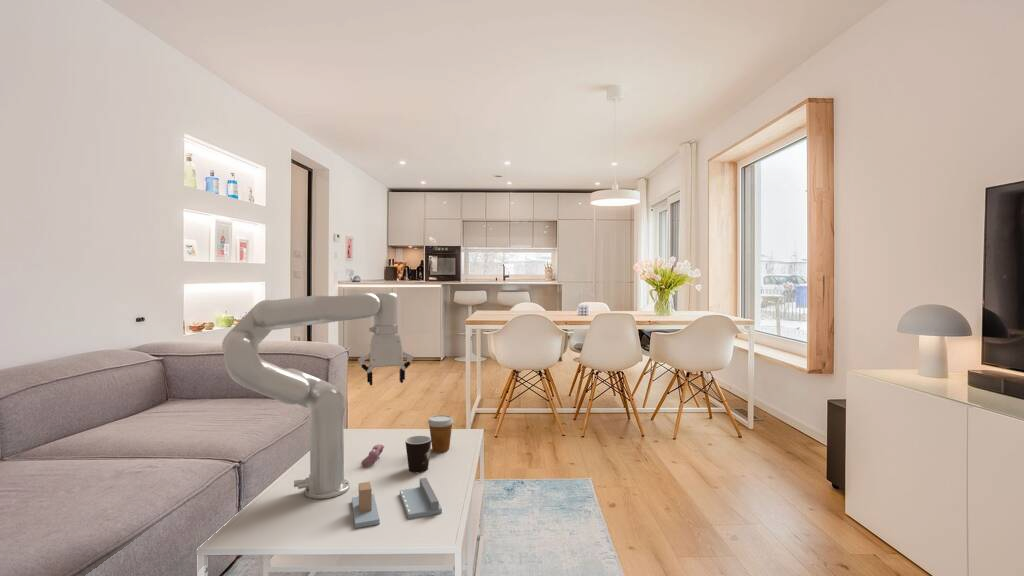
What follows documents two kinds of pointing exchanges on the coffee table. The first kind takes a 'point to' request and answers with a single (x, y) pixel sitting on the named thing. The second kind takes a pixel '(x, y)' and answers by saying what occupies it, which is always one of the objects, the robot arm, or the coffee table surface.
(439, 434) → the disposable coffee cup
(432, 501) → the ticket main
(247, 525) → the coffee table surface
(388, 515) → the coffee table surface
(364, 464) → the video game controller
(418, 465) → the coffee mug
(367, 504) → the grey slab
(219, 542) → the coffee table surface
